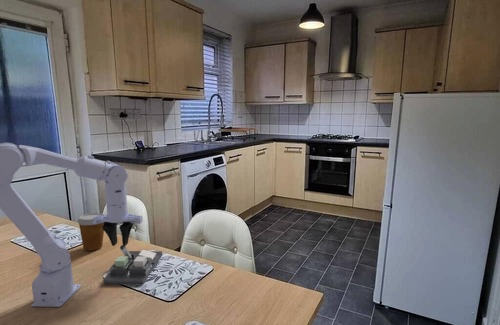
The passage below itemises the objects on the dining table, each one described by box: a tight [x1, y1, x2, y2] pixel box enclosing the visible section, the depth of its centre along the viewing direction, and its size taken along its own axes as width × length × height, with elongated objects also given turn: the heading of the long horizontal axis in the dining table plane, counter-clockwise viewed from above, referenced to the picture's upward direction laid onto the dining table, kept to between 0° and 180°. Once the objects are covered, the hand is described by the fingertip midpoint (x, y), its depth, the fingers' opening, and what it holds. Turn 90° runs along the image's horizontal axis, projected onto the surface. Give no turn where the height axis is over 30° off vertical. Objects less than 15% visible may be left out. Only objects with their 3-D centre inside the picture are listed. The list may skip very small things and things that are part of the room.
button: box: [113, 255, 128, 267], centre depth 92 cm, size 3×3×2 cm
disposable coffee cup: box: [77, 212, 105, 251], centre depth 109 cm, size 10×10×12 cm
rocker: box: [138, 249, 156, 260], centre depth 98 cm, size 4×5×1 cm
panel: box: [103, 250, 163, 286], centre depth 95 cm, size 18×12×3 cm
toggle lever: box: [119, 244, 132, 257], centre depth 97 cm, size 2×2×5 cm
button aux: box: [133, 256, 147, 267], centre depth 91 cm, size 3×3×2 cm
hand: (120, 244), depth 91 cm, fingers open, 3 cm apart
